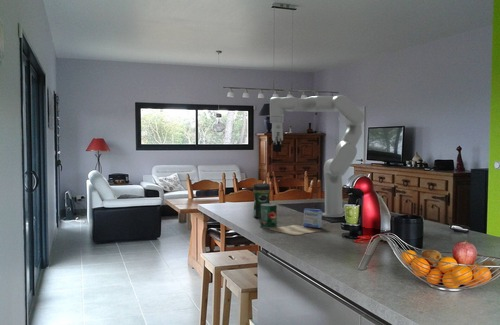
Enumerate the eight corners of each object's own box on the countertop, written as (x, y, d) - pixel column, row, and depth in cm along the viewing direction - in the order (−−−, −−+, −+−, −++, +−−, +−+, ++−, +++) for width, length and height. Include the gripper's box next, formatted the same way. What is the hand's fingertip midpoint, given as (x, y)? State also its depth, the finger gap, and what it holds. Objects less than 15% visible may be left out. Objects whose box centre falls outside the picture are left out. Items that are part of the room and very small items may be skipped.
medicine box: (302, 226, 219) (303, 208, 220) (306, 226, 223) (306, 208, 223) (318, 228, 215) (319, 209, 216) (321, 227, 219) (322, 209, 220)
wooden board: (295, 225, 225) (295, 224, 225) (320, 231, 210) (320, 230, 210) (269, 229, 216) (269, 228, 216) (293, 235, 201) (293, 234, 201)
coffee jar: (269, 215, 256) (269, 182, 255) (271, 217, 248) (271, 183, 247) (252, 215, 255) (251, 182, 254) (254, 218, 247) (254, 184, 246)
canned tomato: (275, 228, 218) (275, 205, 218) (259, 227, 220) (259, 205, 220) (277, 225, 226) (277, 203, 226) (262, 224, 228) (262, 203, 227)
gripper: (286, 119, 239) (286, 152, 240) (281, 120, 256) (281, 151, 257) (271, 119, 238) (272, 152, 239) (268, 120, 256) (268, 151, 257)
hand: (277, 151), depth 248 cm, fingers open, 9 cm apart
